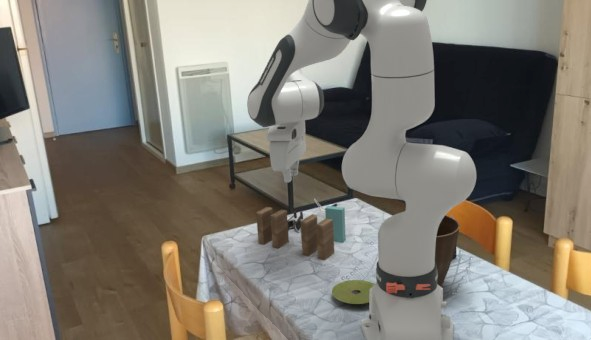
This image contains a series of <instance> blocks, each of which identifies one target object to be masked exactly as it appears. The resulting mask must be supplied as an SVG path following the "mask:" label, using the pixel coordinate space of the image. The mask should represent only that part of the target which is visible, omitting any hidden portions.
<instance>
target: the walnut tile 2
mask: <svg viewBox="0 0 591 340" xmlns="http://www.w3.org/2000/svg"><path fill="white" fill-rule="evenodd" d="M270 217H271V230H272V243H271V244H272V248H275V249H280V248H282V247H283V246H285V245H287V244H288V243H290V241H289V239H290V238H289V229H288V220H289V219H288V210H287V209H286V210H285V209H280V210H278V211H275V212H273V214H272V215H270Z"/></svg>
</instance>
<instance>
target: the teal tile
mask: <svg viewBox="0 0 591 340" xmlns="http://www.w3.org/2000/svg"><path fill="white" fill-rule="evenodd" d="M324 211H325V215H326V218H328V219H333V233H334V243H335V242H336V243H341V244H343V243H344V242H346V239H347V238H346V213H345V212H346V210H345V207H343V206H336V207H335V206H332V205H327V206H326V207H325V210H324Z"/></svg>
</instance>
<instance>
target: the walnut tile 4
mask: <svg viewBox="0 0 591 340" xmlns="http://www.w3.org/2000/svg"><path fill="white" fill-rule="evenodd" d="M316 224H317V216H312V215H311V214H310V215H309V216H307V217H305V218H303V220H302V221H301V226H300V235H301V237H300V238H301V251H302V252H301V253H302V255H303V256H306V257H310V256H311V255H313V254H314V253H315V252H318V247H317V227H316Z"/></svg>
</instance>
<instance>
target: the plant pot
mask: <svg viewBox="0 0 591 340" xmlns="http://www.w3.org/2000/svg"><path fill="white" fill-rule="evenodd" d="M459 233H460V222H459V221H458V220H457V219H455V217H454V218H452V217H451V215H447V214H446V215H445V216H444V218H443V219H442V221H441V222H440V225H439V227H438V231H437V236H436V246H435V263H436V265H437V272H438V278H437V284H438V285H439V286H441V287H442V285H443V284H444V282H445V279H446V278H447V275H448V272H449V269H450V267H451V263H452V260H453V259H452V258H453V255H454V251H455V247H456V248H457V243H458V237H459Z"/></svg>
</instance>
